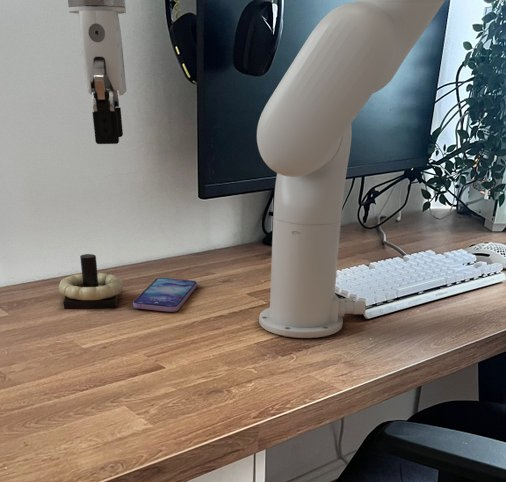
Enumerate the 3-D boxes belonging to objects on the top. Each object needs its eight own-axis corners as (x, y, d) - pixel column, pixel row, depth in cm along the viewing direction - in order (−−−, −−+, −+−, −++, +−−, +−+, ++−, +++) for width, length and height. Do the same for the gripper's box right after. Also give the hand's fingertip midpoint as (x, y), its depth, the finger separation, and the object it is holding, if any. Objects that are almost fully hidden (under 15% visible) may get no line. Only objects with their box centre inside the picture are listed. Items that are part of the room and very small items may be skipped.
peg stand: (118, 292, 116) (115, 249, 112) (115, 308, 109) (112, 262, 105) (69, 293, 115) (64, 249, 111) (64, 308, 108) (58, 262, 104)
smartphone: (198, 280, 119) (176, 307, 107) (198, 286, 120) (176, 313, 107) (157, 276, 120) (130, 303, 107) (157, 282, 121) (130, 309, 108)
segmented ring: (123, 282, 116) (122, 270, 116) (122, 301, 108) (121, 288, 107) (62, 283, 115) (61, 271, 114) (57, 302, 107) (55, 290, 106)
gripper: (121, -6, 85) (133, 146, 93) (128, 4, 99) (138, 134, 108) (59, -6, 84) (77, 147, 92) (75, 4, 99) (89, 135, 107)
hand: (110, 140), depth 100 cm, fingers open, 9 cm apart
